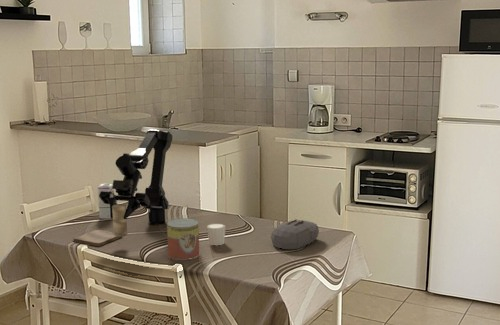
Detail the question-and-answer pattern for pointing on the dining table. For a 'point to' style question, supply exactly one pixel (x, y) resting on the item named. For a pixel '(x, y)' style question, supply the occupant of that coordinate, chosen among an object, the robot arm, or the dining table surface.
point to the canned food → (183, 238)
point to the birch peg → (119, 220)
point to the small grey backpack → (294, 234)
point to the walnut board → (97, 238)
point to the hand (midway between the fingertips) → (117, 218)
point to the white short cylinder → (216, 234)
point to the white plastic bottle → (103, 208)
